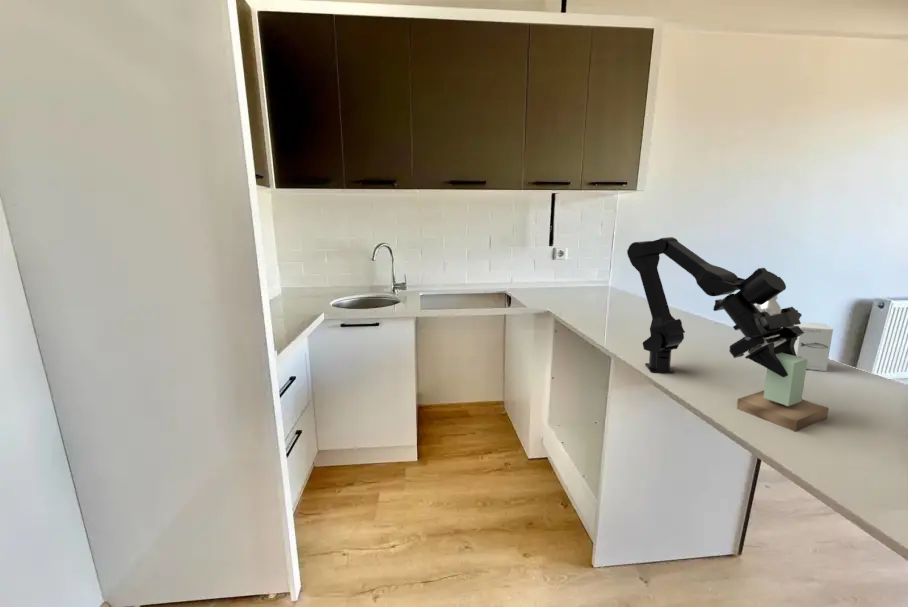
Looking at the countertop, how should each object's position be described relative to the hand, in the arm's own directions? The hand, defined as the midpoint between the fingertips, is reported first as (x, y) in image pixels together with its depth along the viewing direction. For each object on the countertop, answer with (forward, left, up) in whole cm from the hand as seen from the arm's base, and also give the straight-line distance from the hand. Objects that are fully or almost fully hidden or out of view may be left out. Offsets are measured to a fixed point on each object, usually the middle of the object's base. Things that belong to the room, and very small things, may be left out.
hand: (792, 374), depth 90 cm
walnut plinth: (-1, -1, -10) cm, 10 cm away
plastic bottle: (-44, +17, -10) cm, 48 cm away
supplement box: (-33, +23, -10) cm, 42 cm away
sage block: (-1, -1, -7) cm, 7 cm away
